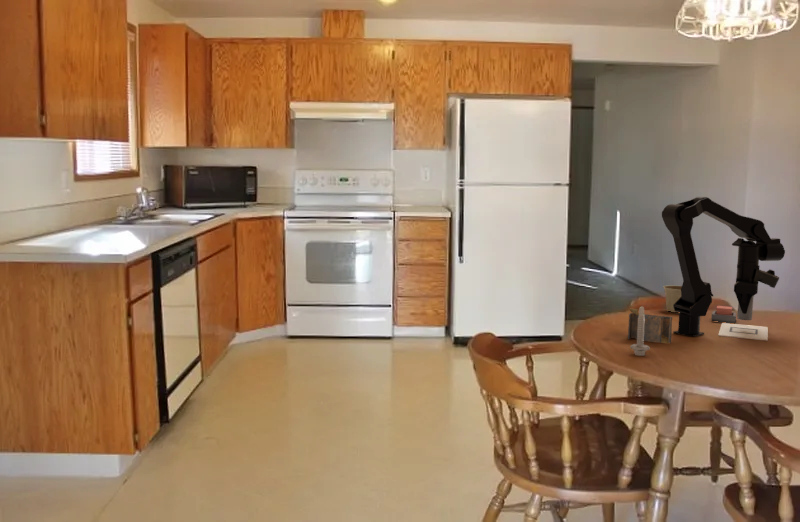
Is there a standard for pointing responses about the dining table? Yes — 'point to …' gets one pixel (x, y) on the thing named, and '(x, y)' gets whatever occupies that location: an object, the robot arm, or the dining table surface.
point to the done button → (724, 310)
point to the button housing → (724, 317)
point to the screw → (640, 335)
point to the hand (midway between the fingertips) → (744, 312)
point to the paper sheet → (744, 331)
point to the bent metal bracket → (651, 327)
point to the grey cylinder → (749, 312)
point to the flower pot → (672, 296)
